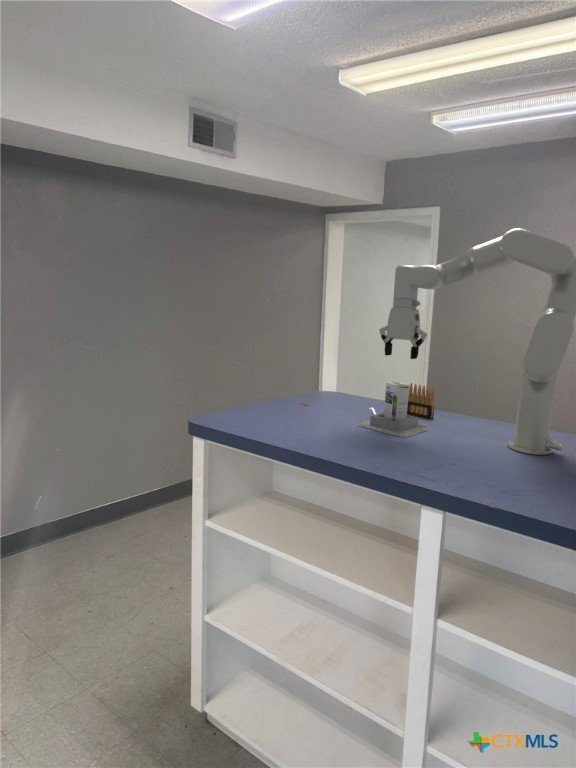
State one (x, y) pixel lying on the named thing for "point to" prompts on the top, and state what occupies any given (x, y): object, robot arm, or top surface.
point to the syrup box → (396, 401)
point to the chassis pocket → (395, 425)
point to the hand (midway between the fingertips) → (400, 356)
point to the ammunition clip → (421, 402)
